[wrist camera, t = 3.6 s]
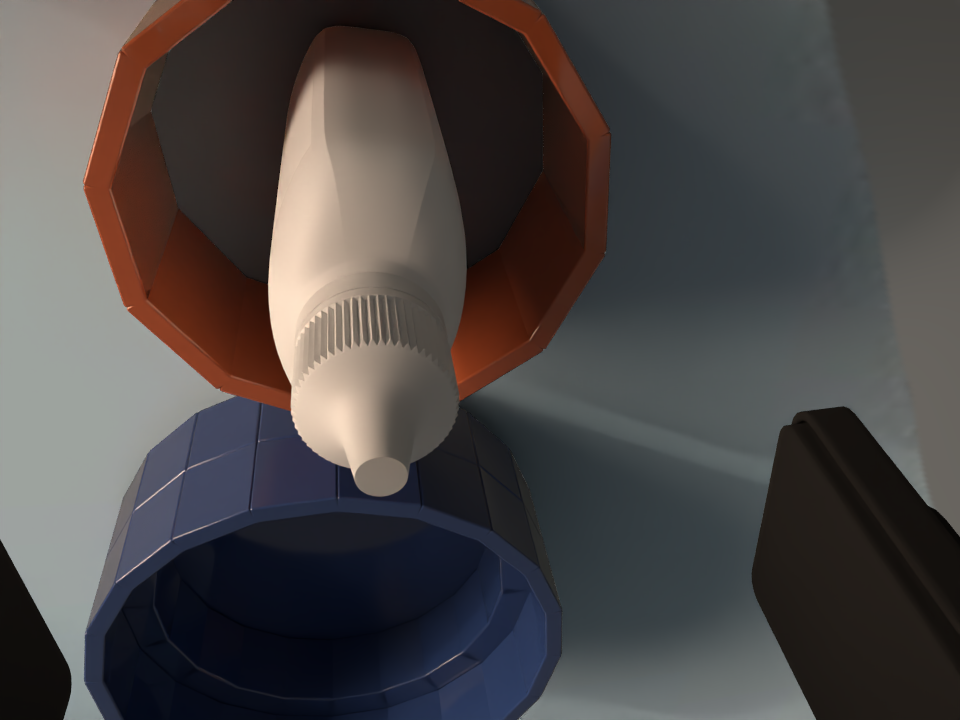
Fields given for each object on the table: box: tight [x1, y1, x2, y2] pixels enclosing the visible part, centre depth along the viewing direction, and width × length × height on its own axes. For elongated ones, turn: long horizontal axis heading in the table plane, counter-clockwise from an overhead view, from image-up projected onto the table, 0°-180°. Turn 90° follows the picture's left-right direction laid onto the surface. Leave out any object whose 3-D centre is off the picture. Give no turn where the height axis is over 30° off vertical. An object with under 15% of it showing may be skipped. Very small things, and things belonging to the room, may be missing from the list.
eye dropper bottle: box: [268, 26, 467, 497], centre depth 16 cm, size 4×6×12 cm
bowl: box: [84, 396, 562, 720], centre depth 26 cm, size 13×13×6 cm
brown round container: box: [83, 0, 611, 411], centre depth 19 cm, size 10×10×4 cm
